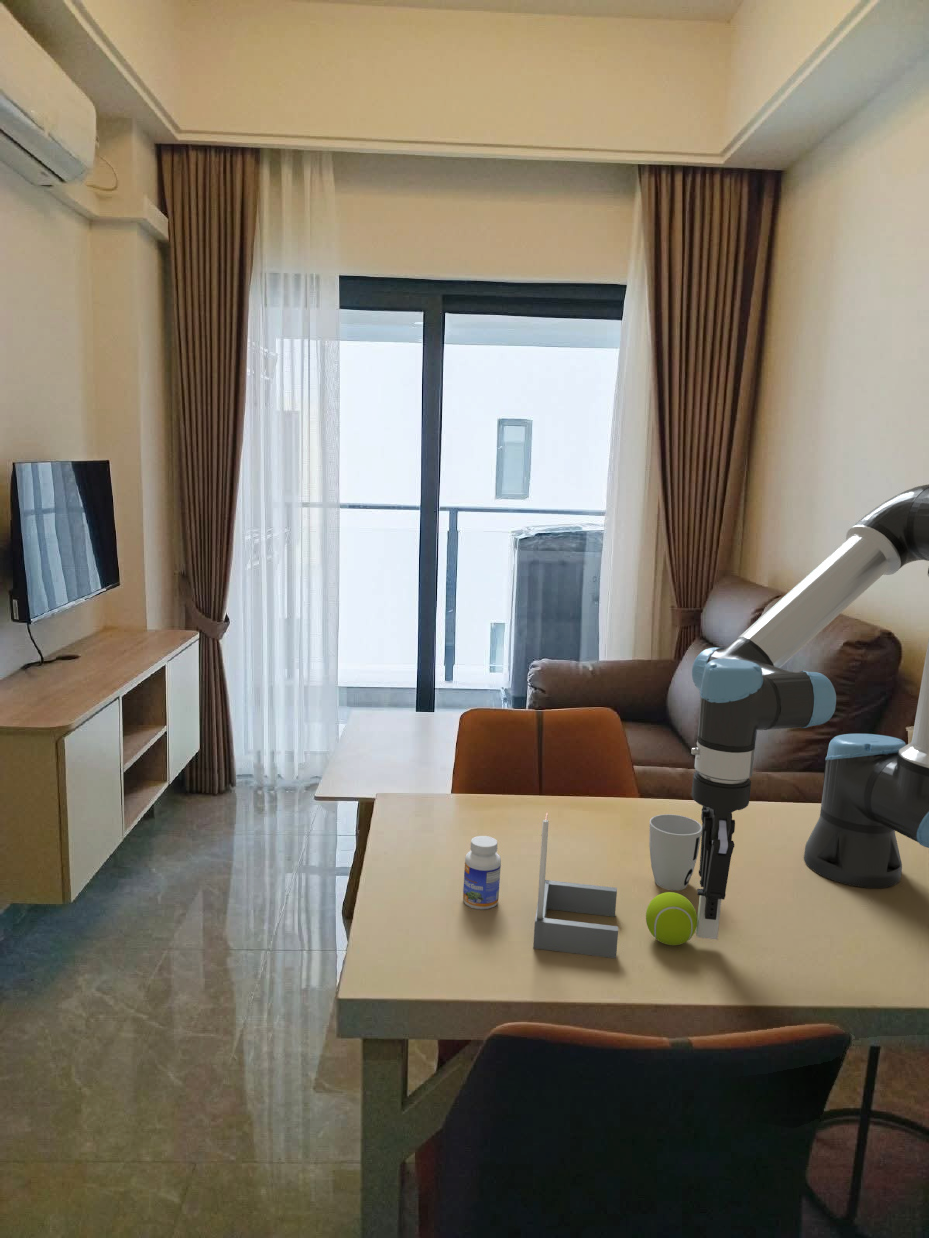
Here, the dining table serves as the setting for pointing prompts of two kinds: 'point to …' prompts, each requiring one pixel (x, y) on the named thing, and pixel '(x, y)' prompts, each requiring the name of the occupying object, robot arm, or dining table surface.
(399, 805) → the dining table surface
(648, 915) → the tennis ball
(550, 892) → the gray u frame
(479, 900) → the pill bottle
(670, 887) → the cup
